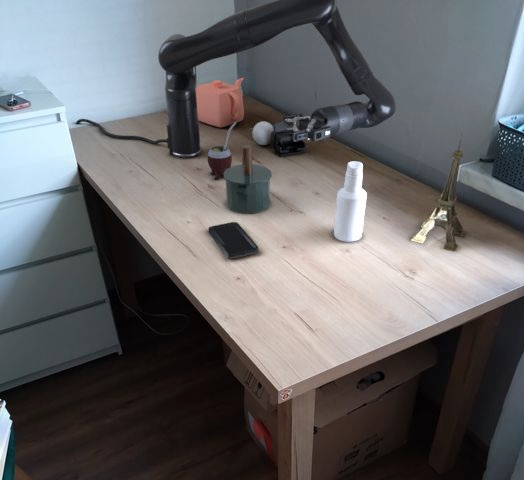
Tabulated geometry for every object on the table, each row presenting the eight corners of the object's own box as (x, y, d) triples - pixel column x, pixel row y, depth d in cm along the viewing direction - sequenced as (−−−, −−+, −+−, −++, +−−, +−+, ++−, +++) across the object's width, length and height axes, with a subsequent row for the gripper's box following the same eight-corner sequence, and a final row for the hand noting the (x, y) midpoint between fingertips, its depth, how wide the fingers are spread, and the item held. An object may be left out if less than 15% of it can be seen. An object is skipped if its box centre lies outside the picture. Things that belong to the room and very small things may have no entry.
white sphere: (279, 145, 181) (279, 122, 177) (260, 150, 178) (260, 127, 173) (262, 136, 188) (262, 114, 183) (244, 141, 185) (243, 118, 180)
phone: (236, 221, 138) (259, 248, 128) (236, 225, 139) (259, 252, 129) (206, 227, 136) (228, 255, 126) (207, 231, 137) (228, 260, 126)
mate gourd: (204, 178, 162) (200, 126, 152) (217, 168, 167) (214, 117, 157) (226, 182, 159) (224, 130, 149) (239, 172, 165) (237, 121, 155)
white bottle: (363, 231, 137) (373, 160, 125) (358, 244, 132) (367, 171, 120) (337, 227, 138) (343, 156, 127) (330, 239, 134) (336, 167, 122)
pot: (219, 216, 143) (218, 187, 138) (235, 189, 156) (234, 161, 150) (262, 220, 141) (262, 190, 136) (274, 192, 154) (275, 164, 149)
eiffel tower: (454, 251, 129) (482, 145, 113) (411, 240, 133) (431, 136, 117) (465, 232, 136) (492, 129, 120) (424, 222, 140) (444, 121, 124)
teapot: (263, 119, 202) (263, 78, 193) (225, 132, 191) (223, 90, 182) (226, 107, 212) (224, 68, 203) (187, 119, 201) (184, 79, 192)
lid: (218, 185, 140) (216, 153, 135) (230, 166, 149) (229, 136, 144) (266, 189, 138) (266, 157, 133) (275, 170, 147) (276, 139, 142)
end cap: (297, 145, 182) (298, 124, 177) (307, 152, 177) (308, 131, 172) (269, 149, 179) (270, 128, 174) (278, 157, 174) (278, 135, 169)
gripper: (317, 99, 151) (268, 110, 144) (350, 113, 142) (300, 125, 135) (315, 127, 156) (268, 138, 149) (348, 142, 147) (299, 155, 140)
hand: (283, 132), depth 142 cm, fingers open, 8 cm apart
